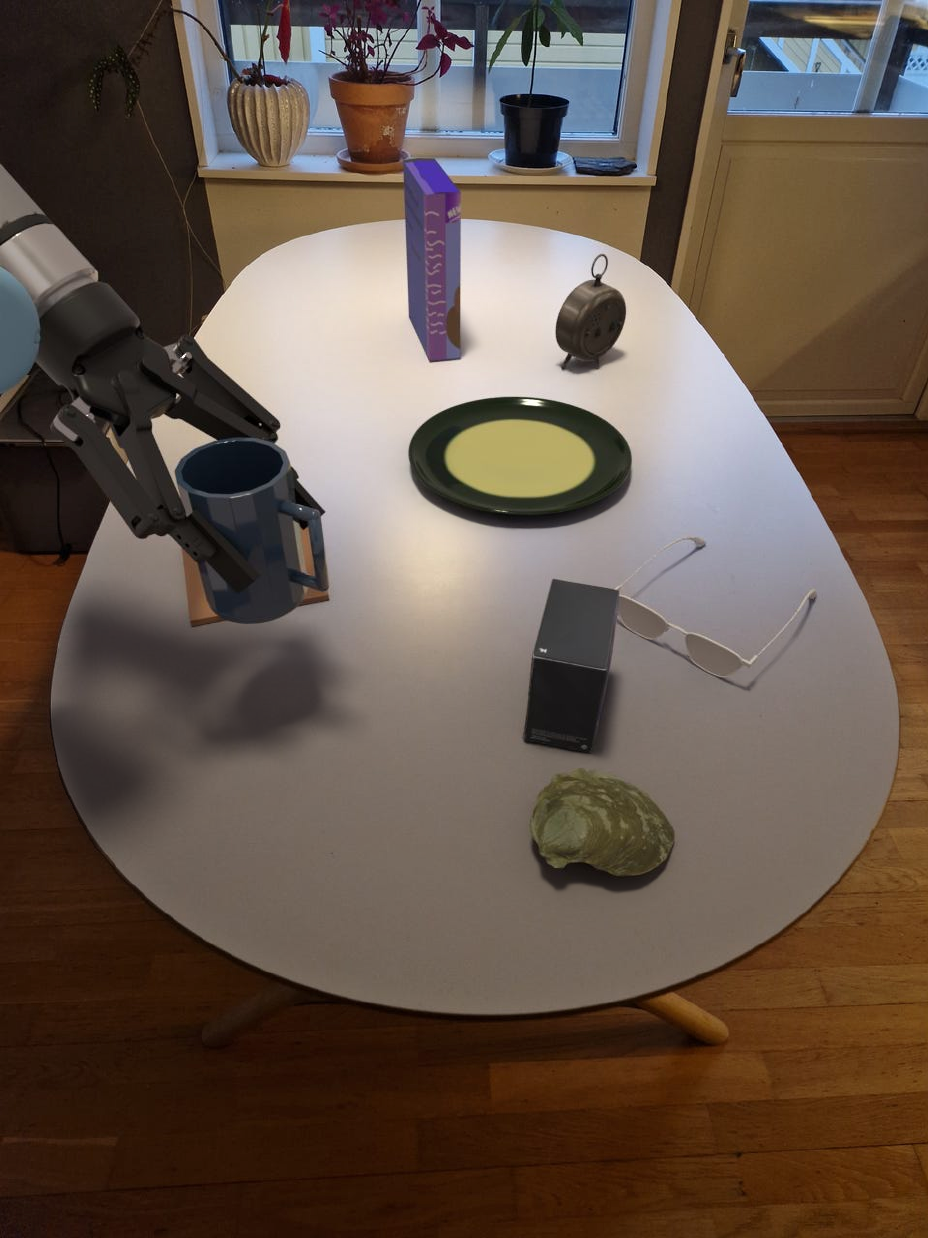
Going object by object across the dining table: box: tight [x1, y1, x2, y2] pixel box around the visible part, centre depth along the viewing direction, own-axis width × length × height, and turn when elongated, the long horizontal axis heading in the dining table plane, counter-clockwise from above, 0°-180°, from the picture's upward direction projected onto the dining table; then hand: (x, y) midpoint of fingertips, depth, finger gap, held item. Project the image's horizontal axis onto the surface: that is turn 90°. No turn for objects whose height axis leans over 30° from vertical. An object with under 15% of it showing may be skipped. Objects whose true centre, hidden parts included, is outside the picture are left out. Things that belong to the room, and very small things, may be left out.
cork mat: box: [181, 527, 330, 627], centre depth 93 cm, size 14×14×1 cm
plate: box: [407, 396, 633, 516], centre depth 109 cm, size 28×28×2 cm
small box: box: [522, 578, 620, 753], centre depth 75 cm, size 11×6×10 cm, turn 167°
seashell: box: [529, 767, 676, 877], centre depth 67 cm, size 10×7×10 cm
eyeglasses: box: [614, 535, 818, 679], centre depth 88 cm, size 15×18×4 cm
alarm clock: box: [555, 253, 627, 370], centre depth 126 cm, size 11×5×16 cm, turn 129°
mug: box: [173, 437, 330, 625], centre depth 67 cm, size 11×8×12 cm
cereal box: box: [402, 157, 462, 363], centre depth 130 cm, size 17×5×24 cm, turn 13°
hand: (283, 551), depth 67 cm, fingers closed on mug, 8 cm apart
